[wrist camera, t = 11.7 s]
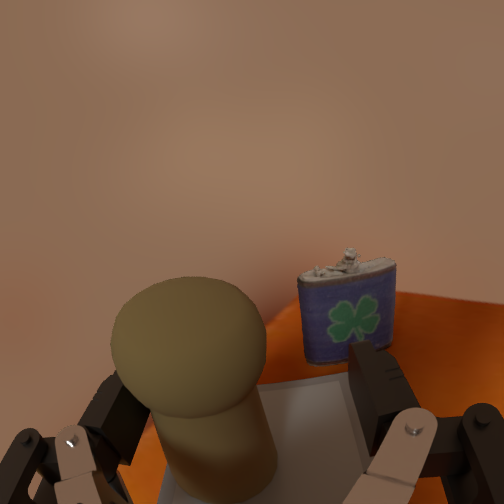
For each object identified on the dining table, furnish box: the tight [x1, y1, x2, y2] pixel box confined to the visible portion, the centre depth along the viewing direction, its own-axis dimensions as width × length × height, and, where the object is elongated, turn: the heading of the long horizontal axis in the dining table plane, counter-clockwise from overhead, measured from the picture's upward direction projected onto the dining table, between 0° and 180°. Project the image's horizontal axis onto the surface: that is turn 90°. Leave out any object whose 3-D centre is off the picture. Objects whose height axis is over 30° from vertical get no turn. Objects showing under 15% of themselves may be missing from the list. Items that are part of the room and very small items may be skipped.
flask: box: [297, 248, 396, 366], centre depth 26 cm, size 9×3×11 cm, turn 93°
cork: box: [110, 277, 278, 504], centre depth 11 cm, size 6×6×11 cm
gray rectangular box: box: [157, 372, 375, 504], centre depth 15 cm, size 12×12×4 cm
